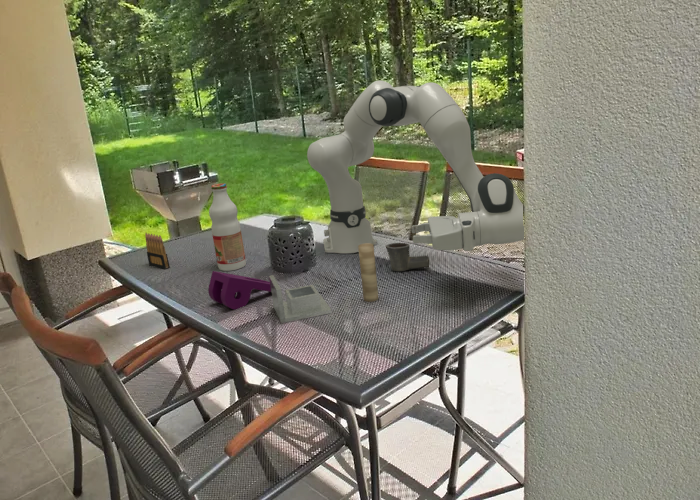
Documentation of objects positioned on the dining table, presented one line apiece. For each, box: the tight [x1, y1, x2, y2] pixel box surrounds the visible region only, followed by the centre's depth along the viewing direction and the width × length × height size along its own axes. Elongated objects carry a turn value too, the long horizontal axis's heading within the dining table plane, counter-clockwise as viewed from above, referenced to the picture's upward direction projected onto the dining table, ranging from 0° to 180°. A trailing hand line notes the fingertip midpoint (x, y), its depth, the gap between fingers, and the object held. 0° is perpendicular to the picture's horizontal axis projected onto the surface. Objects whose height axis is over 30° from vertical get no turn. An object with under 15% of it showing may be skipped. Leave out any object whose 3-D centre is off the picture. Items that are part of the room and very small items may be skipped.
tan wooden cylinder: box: [358, 243, 379, 303], centre depth 158 cm, size 4×4×15 cm
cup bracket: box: [268, 274, 333, 324], centre depth 157 cm, size 12×13×9 cm
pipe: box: [385, 242, 431, 272], centre depth 179 cm, size 6×13×8 cm, turn 78°
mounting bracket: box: [207, 270, 271, 310], centre depth 170 cm, size 9×8×18 cm
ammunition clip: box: [144, 232, 171, 270], centre depth 208 cm, size 11×2×12 cm, turn 49°
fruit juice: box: [208, 182, 247, 272], centre depth 197 cm, size 9×9×28 cm
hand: (412, 234), depth 154 cm, fingers open, 8 cm apart
